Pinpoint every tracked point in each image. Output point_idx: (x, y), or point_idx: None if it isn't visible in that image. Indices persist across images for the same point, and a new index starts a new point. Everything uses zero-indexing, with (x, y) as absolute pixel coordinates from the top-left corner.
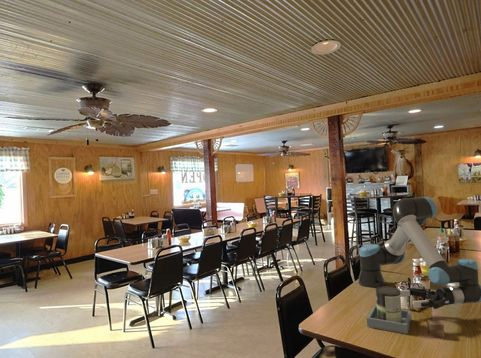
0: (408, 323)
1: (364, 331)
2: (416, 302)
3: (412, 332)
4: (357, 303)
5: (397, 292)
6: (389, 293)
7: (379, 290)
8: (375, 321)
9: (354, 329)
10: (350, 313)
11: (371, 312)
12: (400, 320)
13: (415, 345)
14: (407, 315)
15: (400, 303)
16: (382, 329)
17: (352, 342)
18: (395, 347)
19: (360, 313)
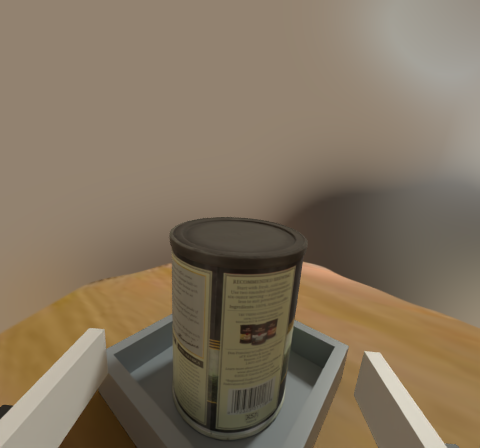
0: (126, 409)
1: None
2: (71, 354)
3: (89, 428)
4: (459, 369)
5: (183, 238)
6: (194, 226)
7: (247, 223)
8: None
9: None
10: (327, 313)
11: None
12: (176, 387)
13: (19, 362)
14: (182, 439)
15: (181, 314)
16: None
17: (165, 267)
18: (77, 310)
19: (332, 335)
